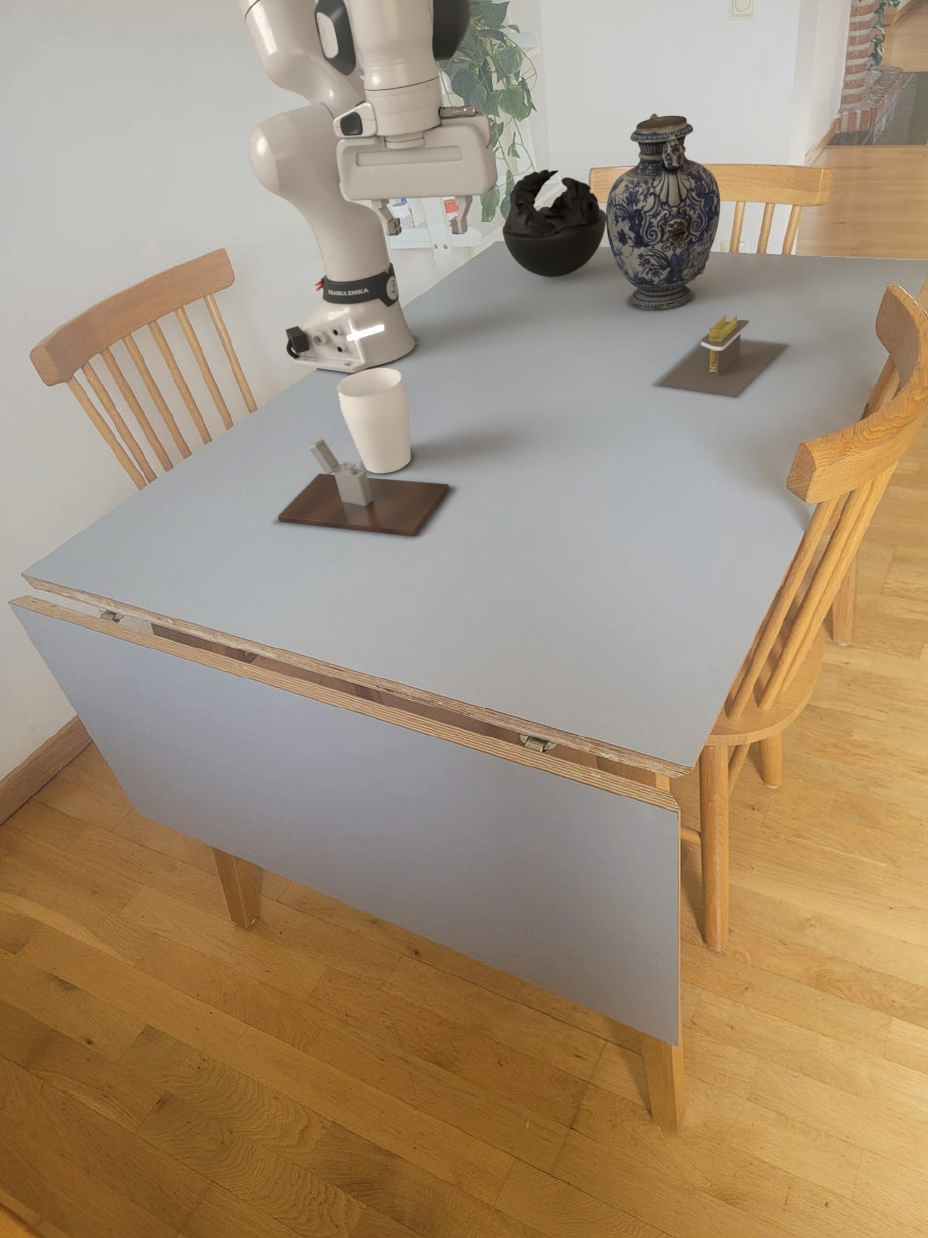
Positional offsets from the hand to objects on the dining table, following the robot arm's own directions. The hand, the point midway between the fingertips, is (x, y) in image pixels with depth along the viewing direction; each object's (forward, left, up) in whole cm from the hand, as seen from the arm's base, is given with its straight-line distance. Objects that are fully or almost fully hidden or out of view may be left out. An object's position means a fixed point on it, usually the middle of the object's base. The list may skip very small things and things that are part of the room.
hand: (426, 233), depth 108 cm
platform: (+34, +22, -27) cm, 49 cm away
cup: (-6, -12, -27) cm, 30 cm away
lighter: (-6, -23, -26) cm, 35 cm away
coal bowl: (-5, +63, -27) cm, 69 cm away
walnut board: (-4, -23, -27) cm, 35 cm away
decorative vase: (+19, +49, -27) cm, 59 cm away
